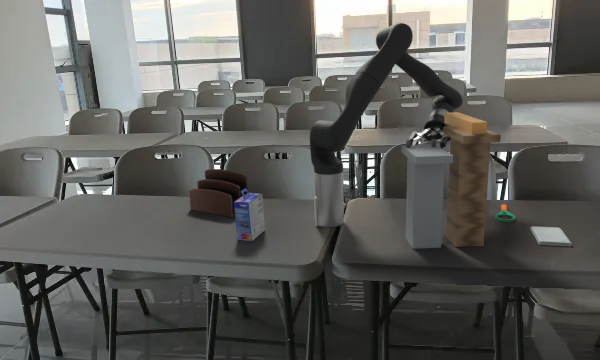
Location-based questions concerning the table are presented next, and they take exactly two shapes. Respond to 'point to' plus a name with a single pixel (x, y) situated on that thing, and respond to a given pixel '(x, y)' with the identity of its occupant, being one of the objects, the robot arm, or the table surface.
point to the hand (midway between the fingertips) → (427, 147)
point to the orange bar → (466, 123)
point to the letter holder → (218, 192)
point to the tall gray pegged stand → (425, 193)
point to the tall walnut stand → (468, 186)
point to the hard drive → (550, 236)
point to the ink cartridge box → (249, 216)
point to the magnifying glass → (504, 214)
